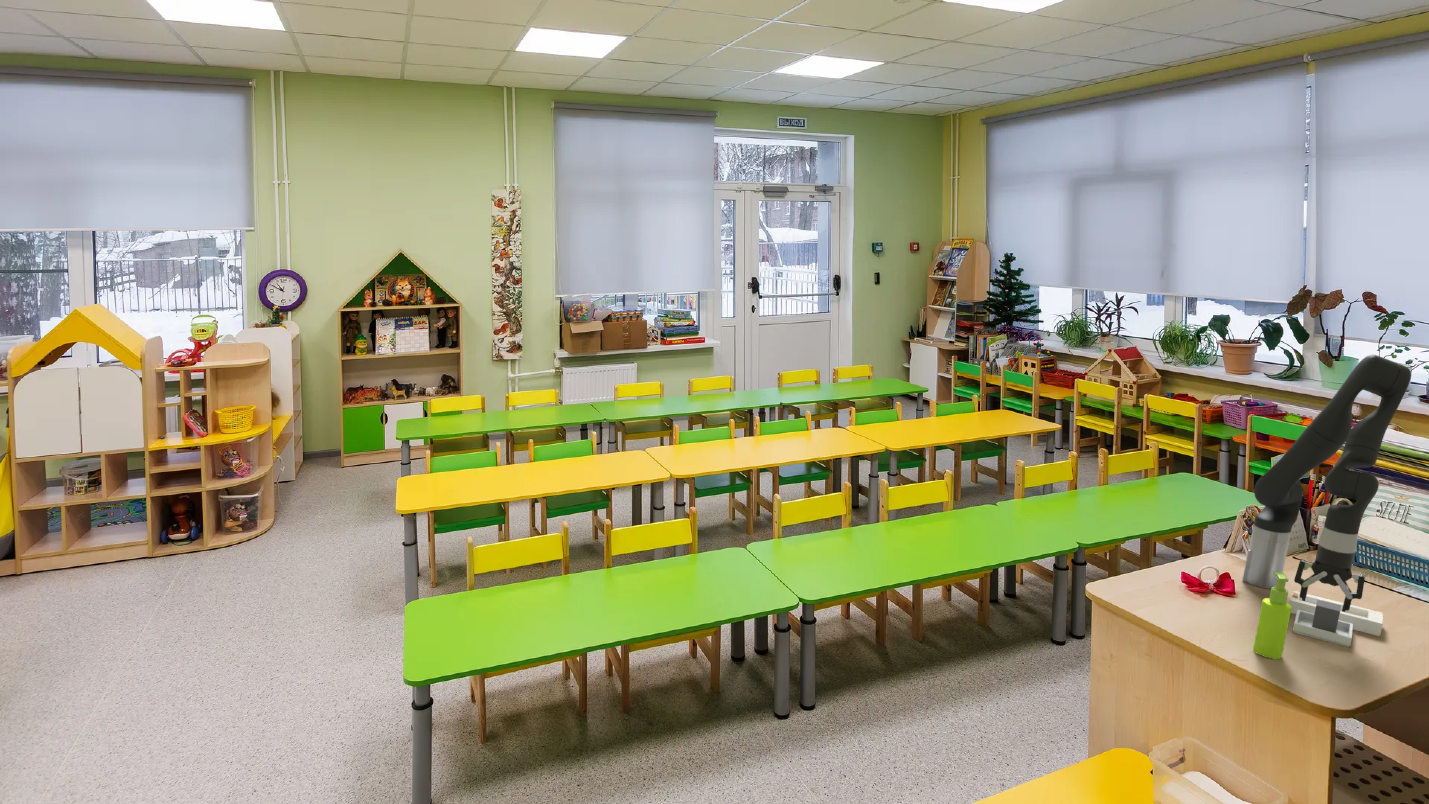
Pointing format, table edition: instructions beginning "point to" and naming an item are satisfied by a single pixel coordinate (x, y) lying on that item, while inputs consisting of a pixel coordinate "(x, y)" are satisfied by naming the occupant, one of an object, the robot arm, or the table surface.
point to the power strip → (1342, 613)
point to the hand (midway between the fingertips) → (1323, 605)
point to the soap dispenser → (1273, 621)
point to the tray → (1305, 628)
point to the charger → (1326, 616)
